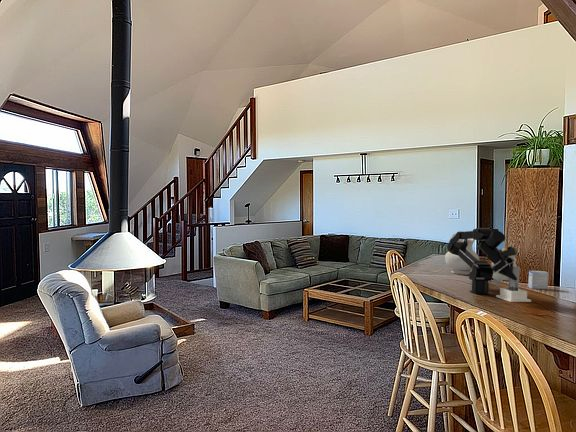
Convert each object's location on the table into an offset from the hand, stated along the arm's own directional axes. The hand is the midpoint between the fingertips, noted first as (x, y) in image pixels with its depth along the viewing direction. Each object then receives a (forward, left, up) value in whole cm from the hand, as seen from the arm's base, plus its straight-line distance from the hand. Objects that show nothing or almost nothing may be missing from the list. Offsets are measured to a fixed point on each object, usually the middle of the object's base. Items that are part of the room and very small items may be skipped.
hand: (517, 279), depth 195 cm
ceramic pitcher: (+16, +72, -9) cm, 74 cm away
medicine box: (+31, +26, -9) cm, 42 cm away
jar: (+31, +54, -9) cm, 63 cm away
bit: (-1, +1, -7) cm, 7 cm away
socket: (-1, +1, -9) cm, 9 cm away
